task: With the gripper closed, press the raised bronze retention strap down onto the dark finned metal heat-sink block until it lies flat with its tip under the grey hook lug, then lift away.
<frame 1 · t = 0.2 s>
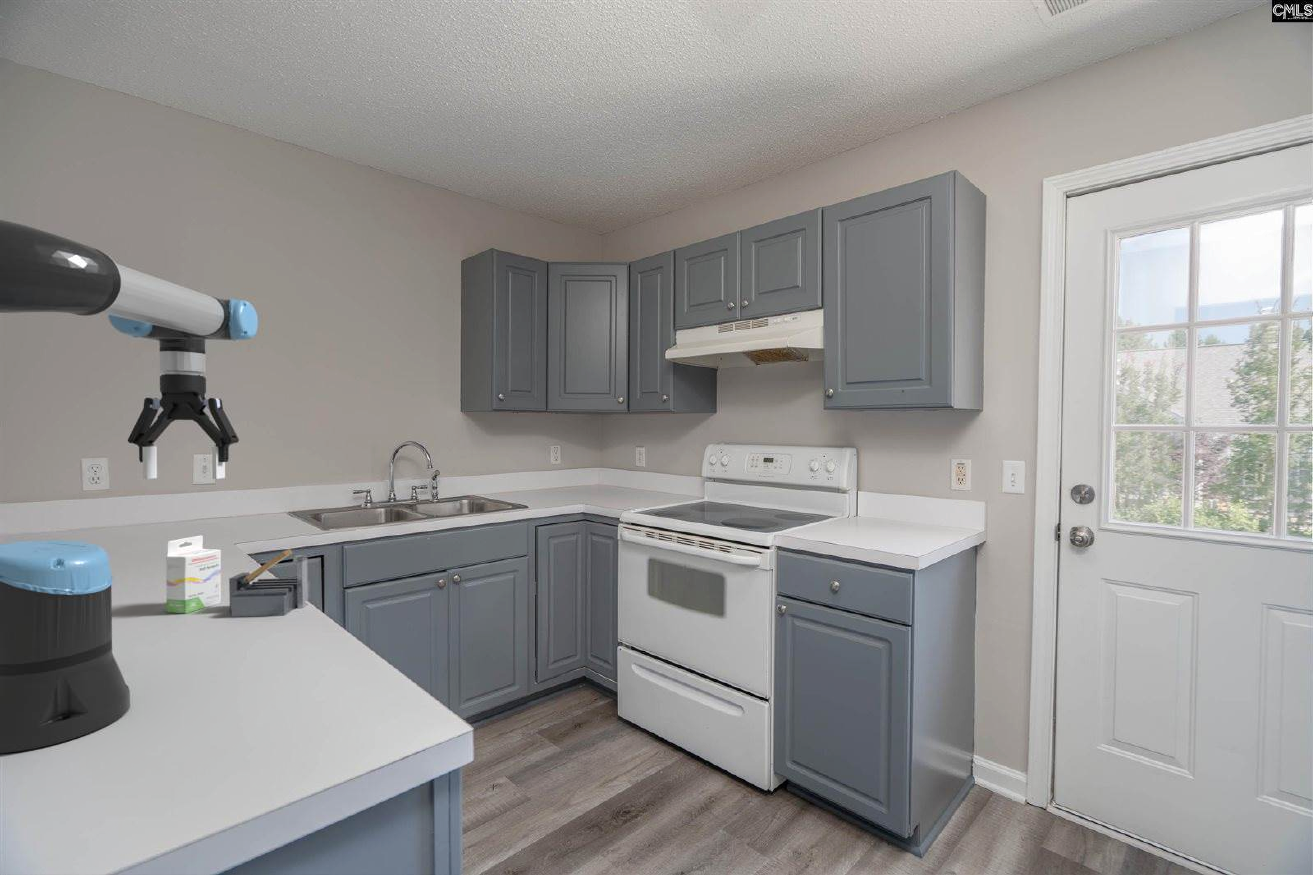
hand: (184, 478, 127), 28 cm above the worktop, fingers open, 13 cm apart
ink box: (195, 608, 132), on the worktop
strap: (266, 566, 132), point 9 cm above the worktop, hinge at 35.0°
heatsink: (272, 607, 132), on the worktop
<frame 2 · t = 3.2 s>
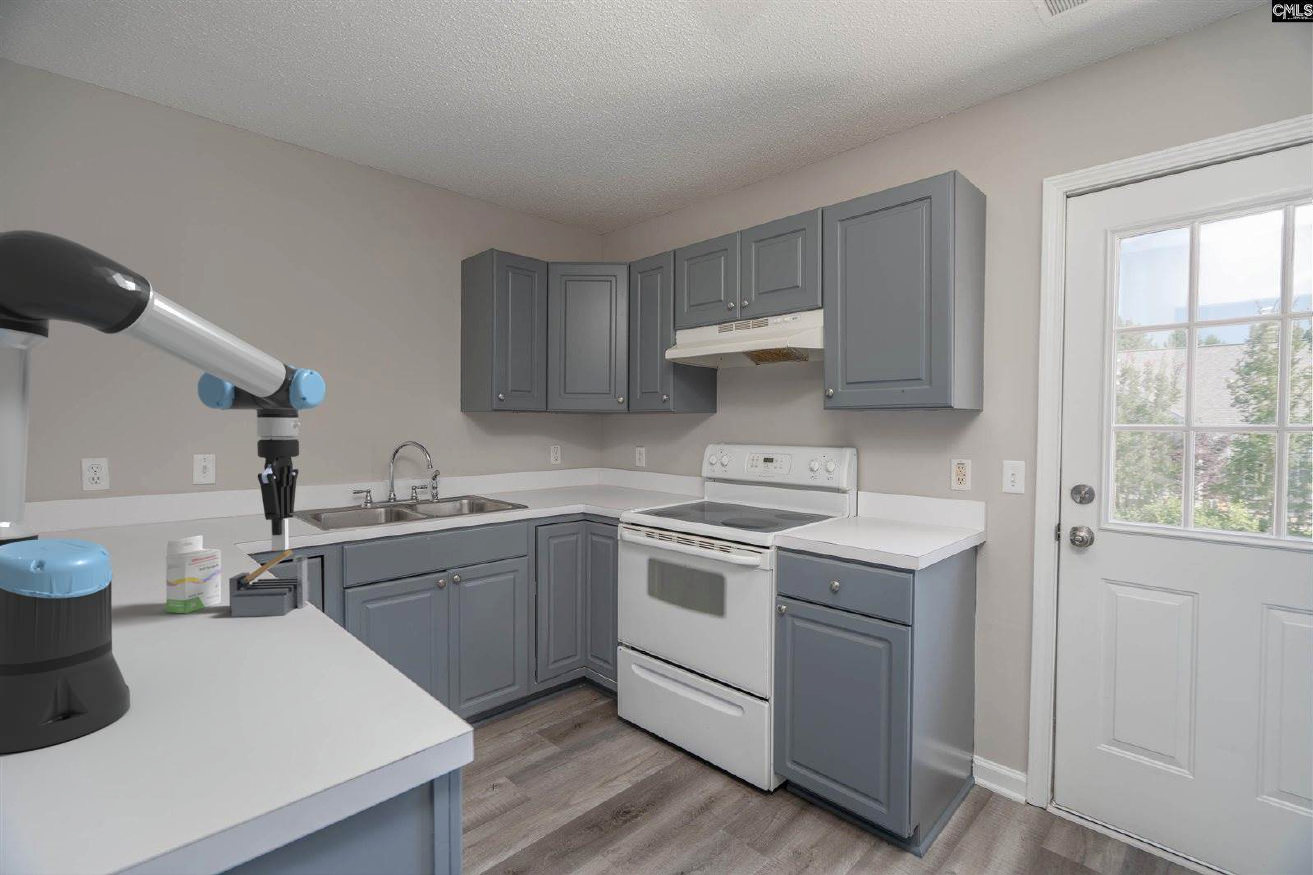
hand: (280, 549, 132), 12 cm above the worktop, fingers closed
strap: (266, 566, 132), point 9 cm above the worktop, hinge at 34.4°, touching gripper
everything else where it was.
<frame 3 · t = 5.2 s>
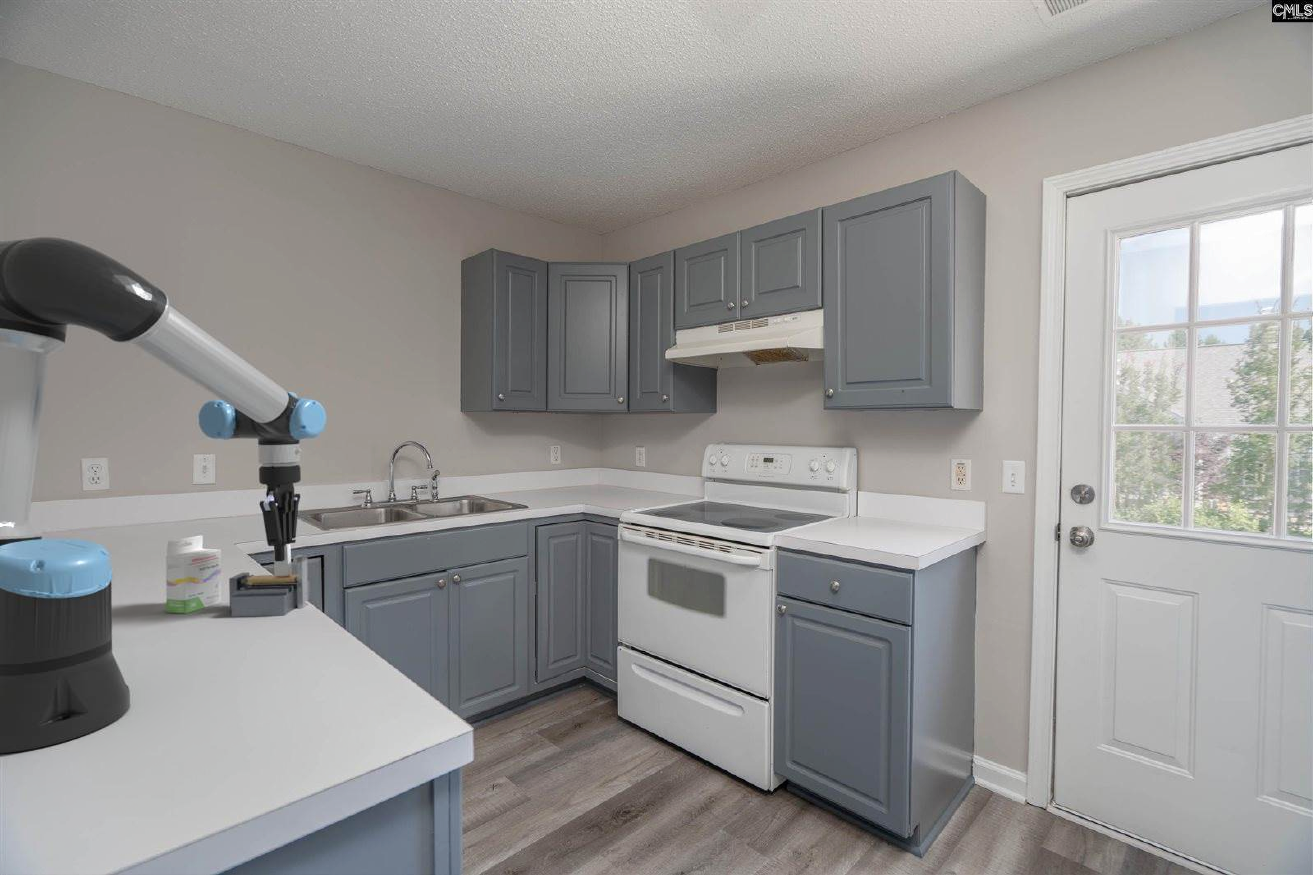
hand: (283, 575, 132), 7 cm above the worktop, fingers closed
strap: (270, 579, 132), point 6 cm above the worktop, hinge at 0.5°, touching gripper
everything else where it was.
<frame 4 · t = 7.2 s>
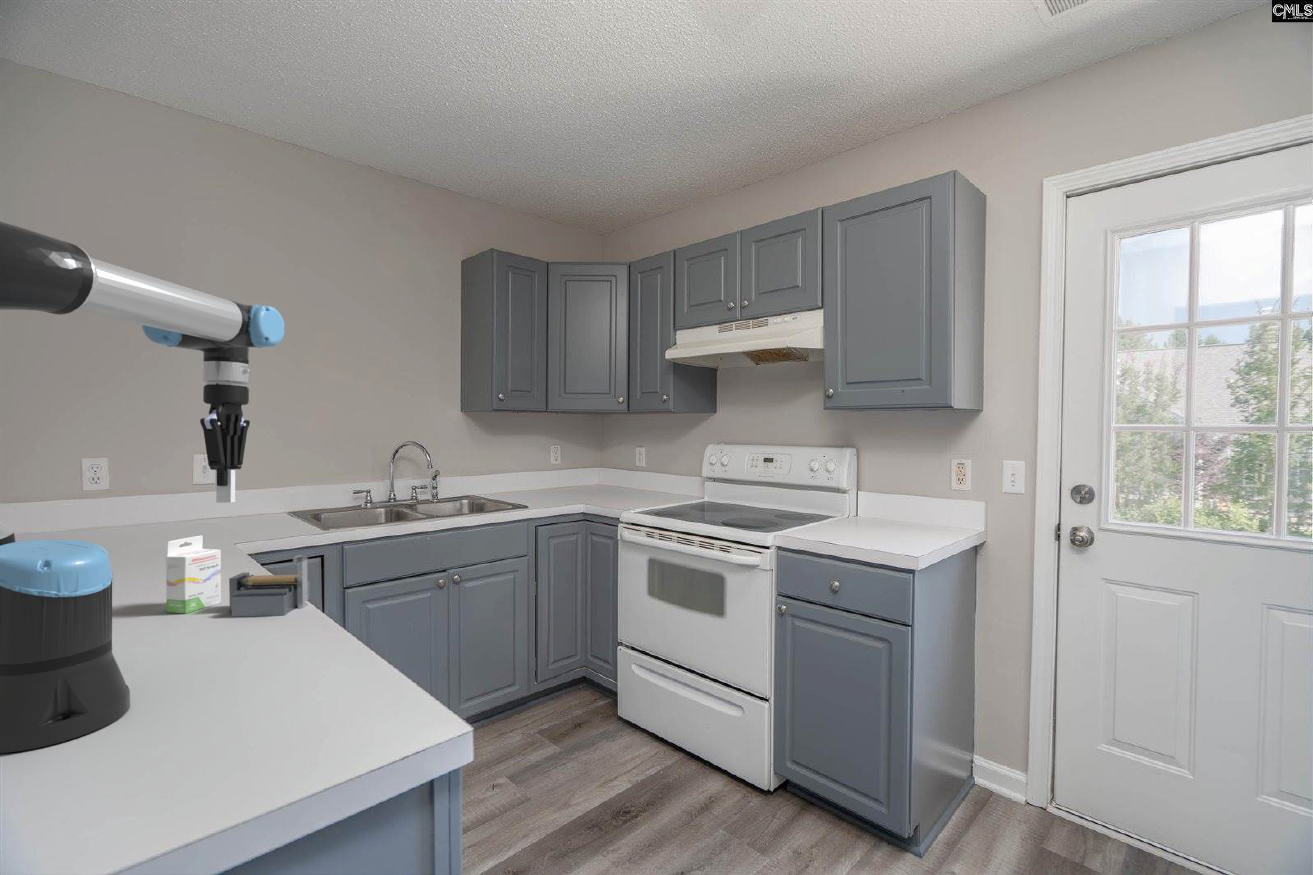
hand: (225, 502, 125), 23 cm above the worktop, fingers closed
strap: (270, 579, 132), point 6 cm above the worktop, hinge at 0.2°
everything else where it was.
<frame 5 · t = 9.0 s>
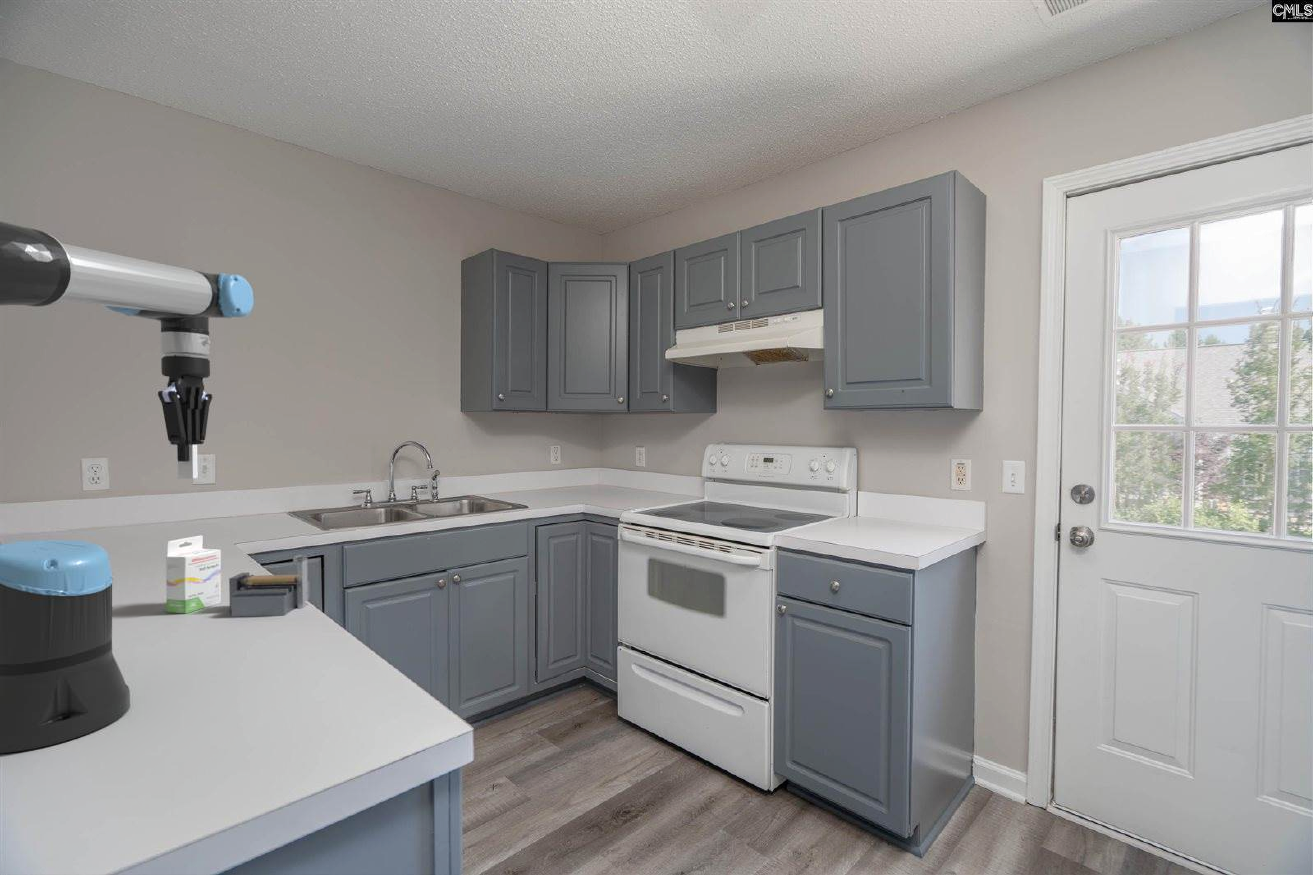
hand: (187, 478, 121), 28 cm above the worktop, fingers closed
nothing on the worktop moved.
at the end: strap at +0° (first picture: +35°); strap touching nothing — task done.
